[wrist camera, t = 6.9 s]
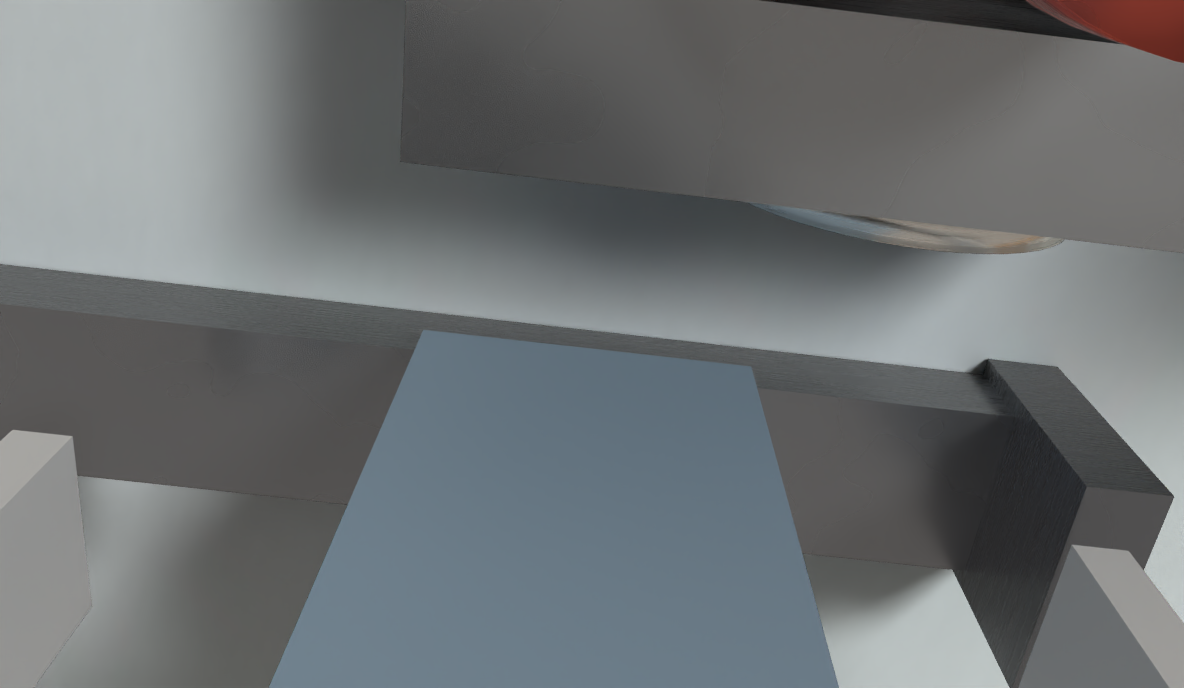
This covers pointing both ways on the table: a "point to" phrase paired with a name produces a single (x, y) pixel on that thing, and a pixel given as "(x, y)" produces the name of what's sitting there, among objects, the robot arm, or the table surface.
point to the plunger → (1126, 22)
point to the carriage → (563, 532)
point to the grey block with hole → (814, 113)
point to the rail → (784, 380)
